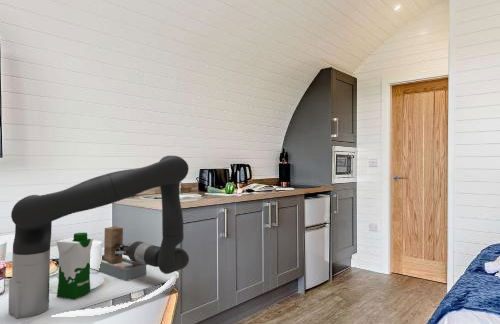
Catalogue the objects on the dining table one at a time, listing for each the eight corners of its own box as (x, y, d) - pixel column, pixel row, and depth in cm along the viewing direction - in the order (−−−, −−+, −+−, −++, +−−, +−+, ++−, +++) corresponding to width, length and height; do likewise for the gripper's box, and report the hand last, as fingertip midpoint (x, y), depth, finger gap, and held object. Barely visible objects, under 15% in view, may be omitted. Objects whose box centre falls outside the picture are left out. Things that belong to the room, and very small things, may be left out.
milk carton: (75, 301, 109) (76, 236, 109) (51, 297, 111) (53, 234, 111) (94, 291, 117) (96, 231, 117) (72, 288, 120) (73, 230, 120)
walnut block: (111, 265, 138) (111, 229, 138) (103, 262, 141) (104, 228, 141) (122, 262, 142) (122, 227, 142) (115, 260, 145) (115, 226, 145)
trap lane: (125, 281, 128) (125, 269, 128) (88, 267, 144) (88, 257, 144) (146, 275, 136) (146, 263, 136) (108, 263, 151) (109, 253, 151)
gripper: (158, 240, 135) (131, 234, 145) (128, 246, 124) (101, 239, 135) (158, 259, 135) (131, 252, 145) (127, 267, 124) (101, 258, 135)
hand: (117, 246), depth 140 cm, fingers closed
